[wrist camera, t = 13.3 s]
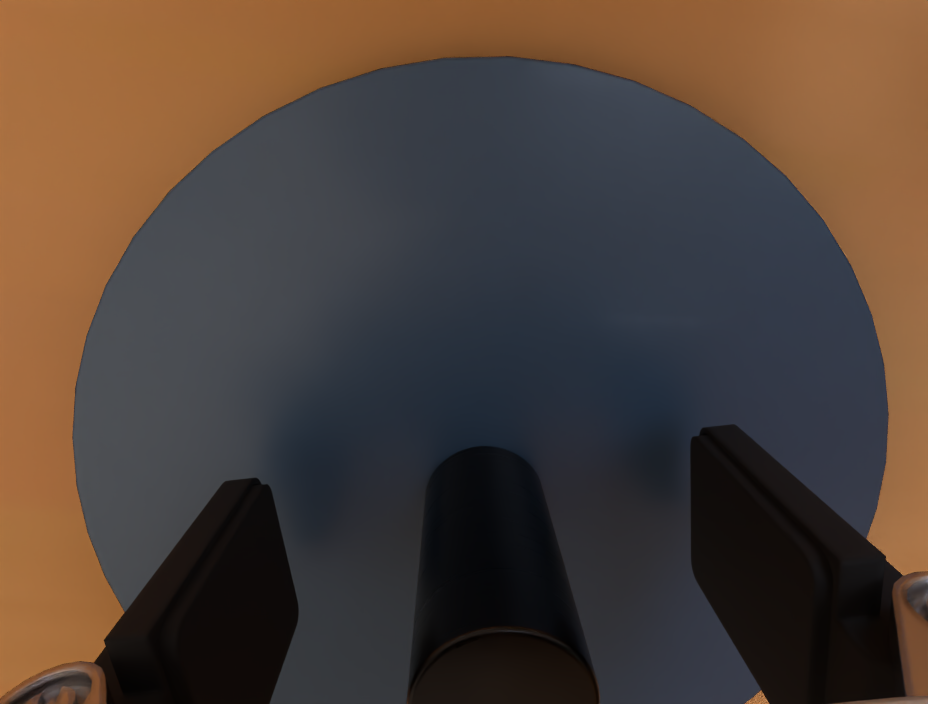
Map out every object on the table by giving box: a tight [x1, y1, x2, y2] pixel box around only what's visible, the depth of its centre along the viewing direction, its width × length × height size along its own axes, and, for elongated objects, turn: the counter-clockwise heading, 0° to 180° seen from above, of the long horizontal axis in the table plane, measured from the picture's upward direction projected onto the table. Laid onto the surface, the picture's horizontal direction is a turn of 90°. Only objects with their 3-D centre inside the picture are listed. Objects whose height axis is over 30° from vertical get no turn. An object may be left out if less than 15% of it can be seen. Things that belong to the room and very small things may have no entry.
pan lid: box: [73, 56, 889, 704], centre depth 10 cm, size 16×16×6 cm
